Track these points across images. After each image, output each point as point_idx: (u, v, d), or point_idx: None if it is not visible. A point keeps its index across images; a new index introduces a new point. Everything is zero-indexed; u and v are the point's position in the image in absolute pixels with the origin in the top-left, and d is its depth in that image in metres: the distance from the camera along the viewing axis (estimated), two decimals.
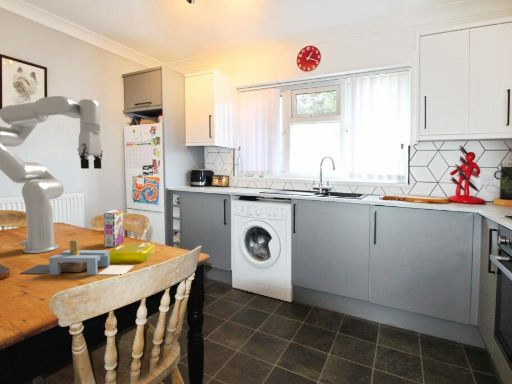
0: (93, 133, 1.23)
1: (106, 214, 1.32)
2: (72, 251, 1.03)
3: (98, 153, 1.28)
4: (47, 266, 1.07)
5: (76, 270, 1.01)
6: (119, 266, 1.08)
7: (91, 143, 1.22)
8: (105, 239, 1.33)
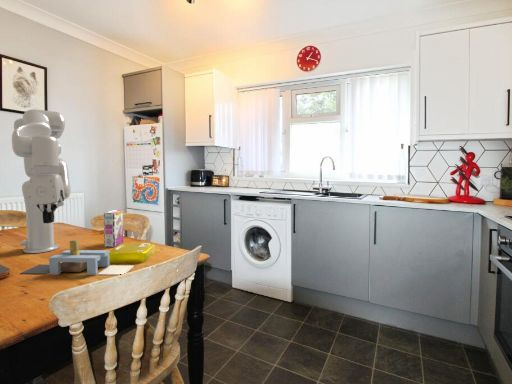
0: None
1: (106, 214, 1.32)
2: (72, 251, 1.03)
3: None
4: (47, 266, 1.07)
5: (76, 270, 1.01)
6: (119, 266, 1.08)
7: None
8: (105, 239, 1.33)
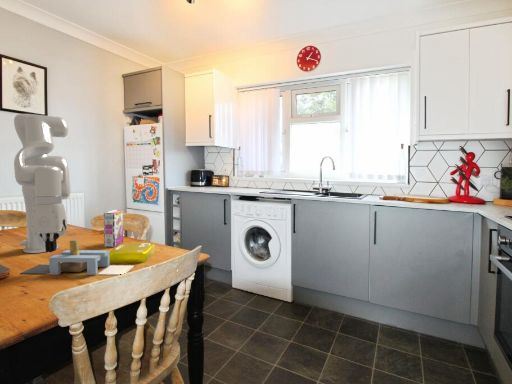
0: None
1: (106, 214, 1.32)
2: (72, 251, 1.03)
3: None
4: (47, 266, 1.07)
5: (76, 270, 1.01)
6: (119, 266, 1.08)
7: None
8: (105, 239, 1.33)
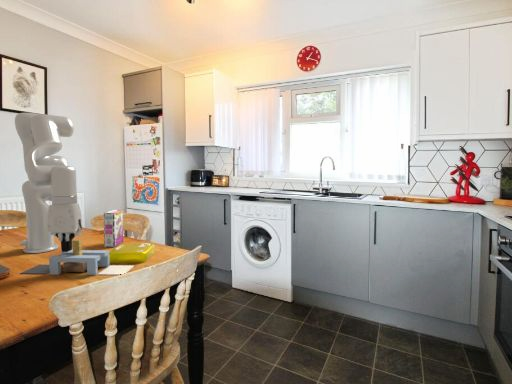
0: None
1: (106, 214, 1.32)
2: (75, 251, 1.03)
3: None
4: (47, 266, 1.07)
5: (79, 270, 1.01)
6: (119, 266, 1.08)
7: None
8: (105, 239, 1.33)
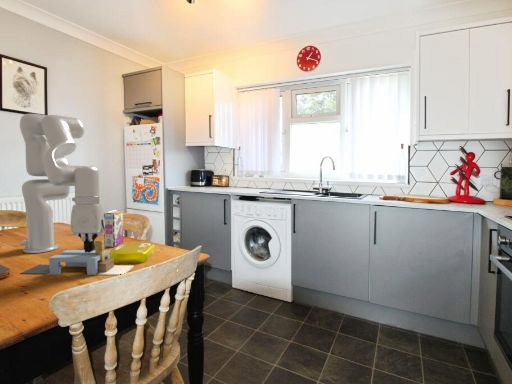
0: None
1: (106, 214, 1.32)
2: (97, 251, 1.03)
3: None
4: (47, 266, 1.07)
5: (102, 270, 1.01)
6: (119, 266, 1.08)
7: None
8: (105, 239, 1.33)
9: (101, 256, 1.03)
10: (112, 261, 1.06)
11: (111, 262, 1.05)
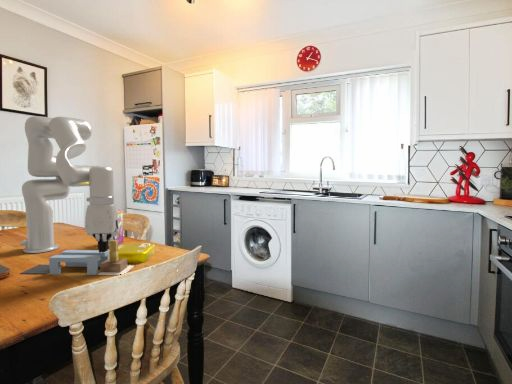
0: None
1: None
2: (111, 251, 1.03)
3: None
4: (47, 266, 1.07)
5: (116, 270, 1.02)
6: None
7: None
8: None
9: (115, 256, 1.03)
10: (126, 261, 1.06)
11: (125, 262, 1.05)
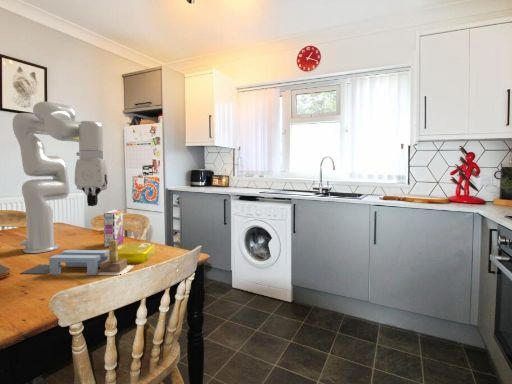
0: None
1: (106, 214, 1.32)
2: (111, 251, 1.03)
3: None
4: (47, 266, 1.07)
5: (116, 270, 1.02)
6: None
7: None
8: (105, 239, 1.33)
9: (115, 256, 1.03)
10: (125, 261, 1.06)
11: (124, 262, 1.05)
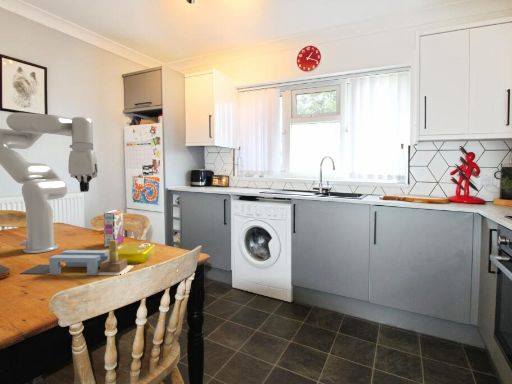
0: None
1: (106, 214, 1.33)
2: (111, 251, 1.03)
3: None
4: (47, 266, 1.07)
5: (116, 270, 1.02)
6: None
7: None
8: (105, 239, 1.33)
9: (115, 256, 1.03)
10: (125, 261, 1.06)
11: (124, 262, 1.05)
